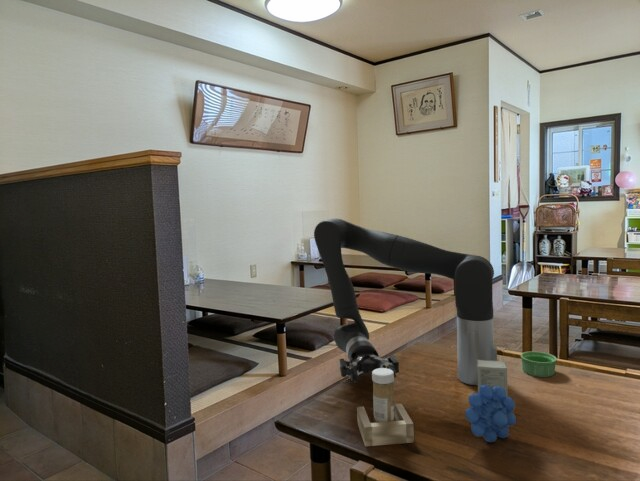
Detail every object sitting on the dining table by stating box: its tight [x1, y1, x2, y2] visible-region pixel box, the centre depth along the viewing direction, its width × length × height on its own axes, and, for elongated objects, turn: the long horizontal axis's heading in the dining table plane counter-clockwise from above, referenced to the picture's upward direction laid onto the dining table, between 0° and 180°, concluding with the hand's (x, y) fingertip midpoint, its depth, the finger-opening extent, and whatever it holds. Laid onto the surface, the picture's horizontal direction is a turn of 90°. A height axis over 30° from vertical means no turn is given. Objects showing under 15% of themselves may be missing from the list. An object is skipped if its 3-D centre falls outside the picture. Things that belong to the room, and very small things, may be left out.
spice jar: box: [371, 367, 395, 423], centre depth 94 cm, size 5×5×14 cm
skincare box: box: [477, 360, 509, 397], centre depth 99 cm, size 6×4×12 cm
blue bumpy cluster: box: [465, 385, 517, 443], centre depth 88 cm, size 12×7×12 cm, turn 107°
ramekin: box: [520, 350, 558, 378], centre depth 123 cm, size 9×9×4 cm
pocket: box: [356, 403, 415, 447], centre depth 94 cm, size 10×9×4 cm
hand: (374, 377), depth 103 cm, fingers open, 8 cm apart
